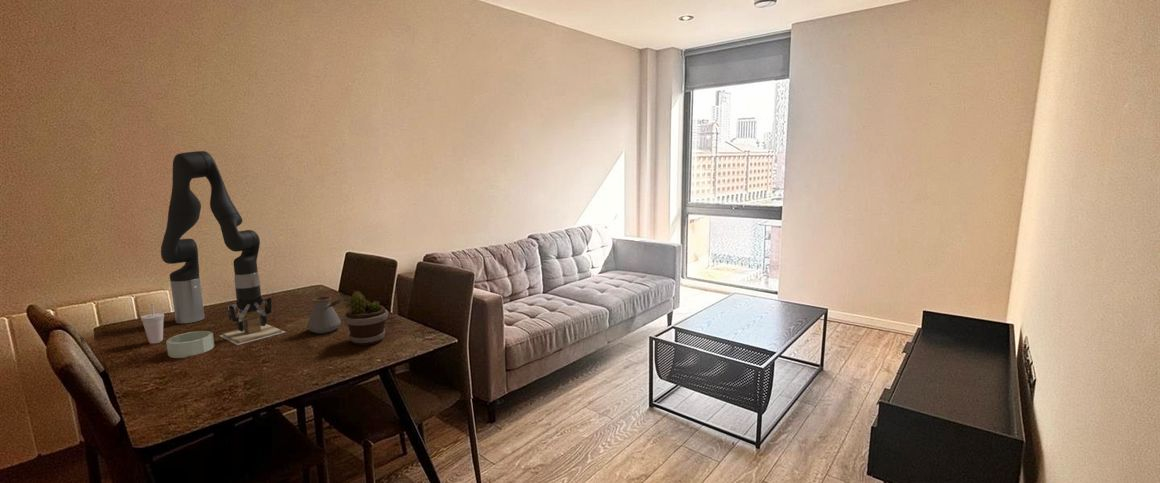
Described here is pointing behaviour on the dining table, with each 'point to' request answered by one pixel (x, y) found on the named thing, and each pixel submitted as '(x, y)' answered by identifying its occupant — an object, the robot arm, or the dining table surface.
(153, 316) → the smoothie
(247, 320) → the lid
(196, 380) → the dining table surface
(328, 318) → the coffee pot
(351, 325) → the flowerpot
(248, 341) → the tray
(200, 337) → the bowl
